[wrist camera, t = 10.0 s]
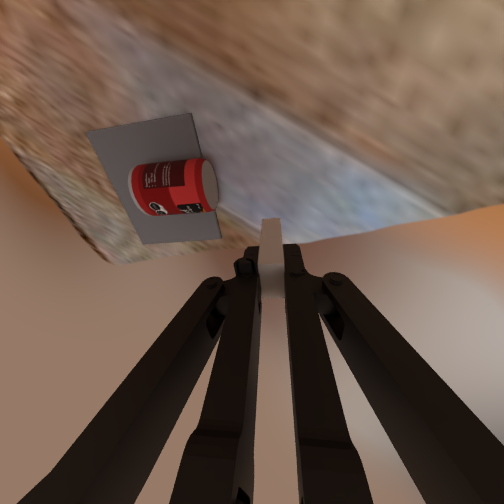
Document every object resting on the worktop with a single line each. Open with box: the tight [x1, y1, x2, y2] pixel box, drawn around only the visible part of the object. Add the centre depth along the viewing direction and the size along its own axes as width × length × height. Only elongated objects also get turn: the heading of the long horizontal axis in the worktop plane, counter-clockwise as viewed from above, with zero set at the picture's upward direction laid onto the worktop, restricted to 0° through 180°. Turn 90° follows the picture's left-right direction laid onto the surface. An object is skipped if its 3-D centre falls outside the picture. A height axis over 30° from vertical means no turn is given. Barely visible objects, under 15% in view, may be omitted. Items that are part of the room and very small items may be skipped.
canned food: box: [128, 158, 218, 216], centre depth 29 cm, size 8×8×11 cm
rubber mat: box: [85, 113, 222, 244], centre depth 34 cm, size 21×18×1 cm
